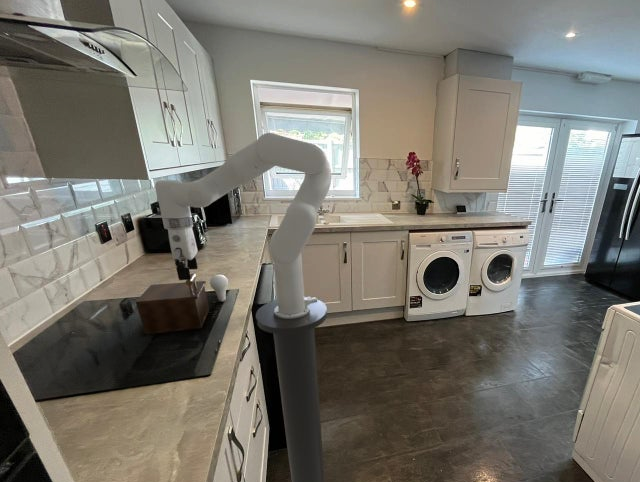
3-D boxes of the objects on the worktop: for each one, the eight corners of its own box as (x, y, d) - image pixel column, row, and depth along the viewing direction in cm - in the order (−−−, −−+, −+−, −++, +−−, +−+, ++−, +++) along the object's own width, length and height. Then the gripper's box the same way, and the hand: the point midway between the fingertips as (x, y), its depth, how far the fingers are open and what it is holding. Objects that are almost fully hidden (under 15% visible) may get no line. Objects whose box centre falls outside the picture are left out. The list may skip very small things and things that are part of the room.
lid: (206, 282, 115) (203, 269, 113) (197, 298, 103) (194, 283, 101) (151, 286, 109) (147, 272, 107) (136, 304, 98) (131, 288, 96)
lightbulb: (232, 297, 129) (228, 271, 125) (230, 303, 124) (225, 277, 119) (215, 298, 127) (210, 272, 123) (212, 305, 122) (206, 278, 118)
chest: (209, 310, 119) (203, 283, 114) (201, 328, 107) (194, 299, 103) (159, 314, 114) (151, 286, 110) (145, 334, 102) (136, 304, 98)
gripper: (185, 228, 93) (196, 283, 99) (198, 216, 108) (207, 264, 114) (154, 229, 90) (167, 285, 97) (172, 216, 105) (182, 266, 112)
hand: (188, 274), depth 106 cm, fingers open, 9 cm apart
